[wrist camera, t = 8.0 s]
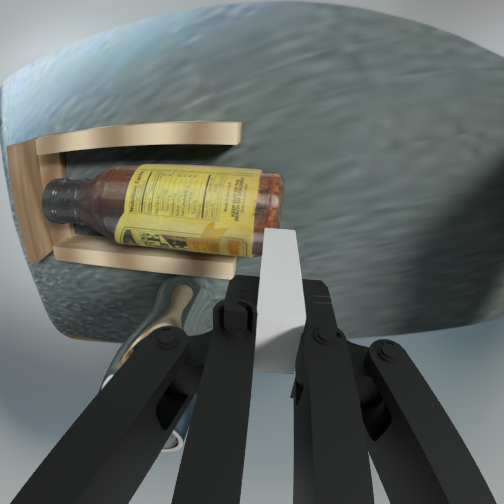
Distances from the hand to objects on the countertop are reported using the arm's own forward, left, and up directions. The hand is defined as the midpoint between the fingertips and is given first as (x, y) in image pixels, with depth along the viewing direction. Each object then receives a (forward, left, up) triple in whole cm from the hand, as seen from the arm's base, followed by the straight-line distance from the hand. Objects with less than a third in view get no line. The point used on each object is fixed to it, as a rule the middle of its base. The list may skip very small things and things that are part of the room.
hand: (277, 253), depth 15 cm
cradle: (+14, 0, -9) cm, 17 cm away
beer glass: (+8, +11, -10) cm, 17 cm away
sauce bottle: (0, 0, -6) cm, 6 cm away
